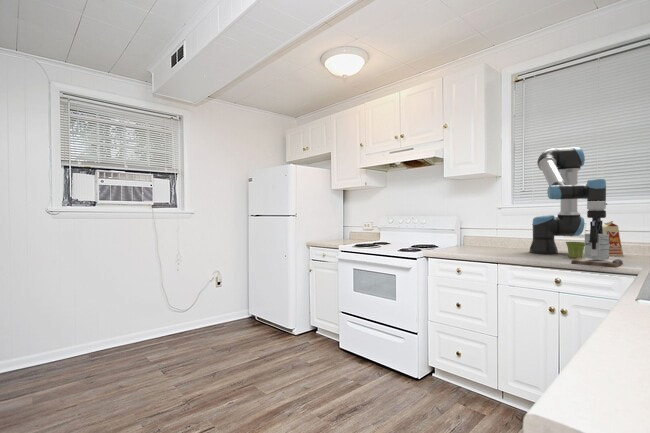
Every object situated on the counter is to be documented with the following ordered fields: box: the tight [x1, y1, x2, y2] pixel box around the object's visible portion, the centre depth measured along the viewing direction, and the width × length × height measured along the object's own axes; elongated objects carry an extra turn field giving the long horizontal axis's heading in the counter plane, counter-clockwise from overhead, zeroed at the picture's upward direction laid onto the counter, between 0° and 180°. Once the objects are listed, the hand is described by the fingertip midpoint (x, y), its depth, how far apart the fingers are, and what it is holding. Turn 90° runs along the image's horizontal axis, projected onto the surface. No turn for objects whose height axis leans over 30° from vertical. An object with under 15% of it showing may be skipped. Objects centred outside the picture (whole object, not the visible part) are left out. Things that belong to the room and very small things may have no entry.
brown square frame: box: [570, 257, 624, 268], centre depth 180 cm, size 18×15×2 cm
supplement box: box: [584, 233, 610, 260], centre depth 180 cm, size 7×7×13 cm
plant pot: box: [565, 241, 585, 259], centre depth 202 cm, size 9×9×9 cm
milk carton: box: [602, 220, 624, 257], centre depth 211 cm, size 9×9×20 cm
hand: (596, 254), depth 180 cm, fingers closed on supplement box, 9 cm apart
